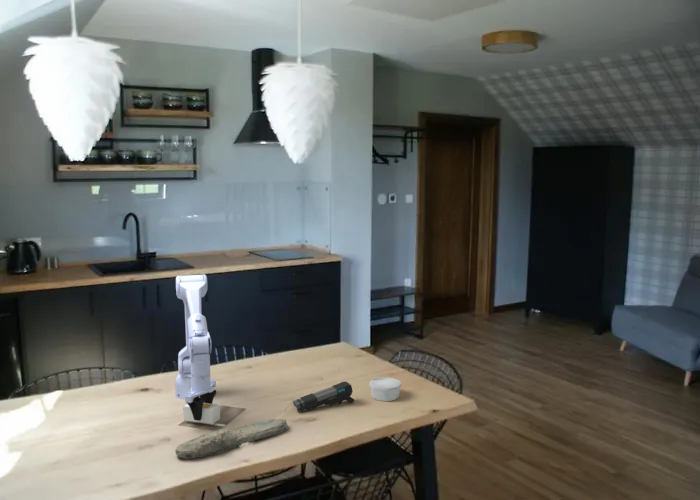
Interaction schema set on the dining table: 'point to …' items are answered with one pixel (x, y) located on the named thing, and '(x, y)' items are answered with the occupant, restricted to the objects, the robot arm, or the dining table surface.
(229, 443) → the long grey stone
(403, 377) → the dining table surface
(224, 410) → the subfloor panel
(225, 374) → the dining table surface
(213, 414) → the block
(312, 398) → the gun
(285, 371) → the dining table surface
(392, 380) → the ramekin
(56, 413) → the dining table surface
